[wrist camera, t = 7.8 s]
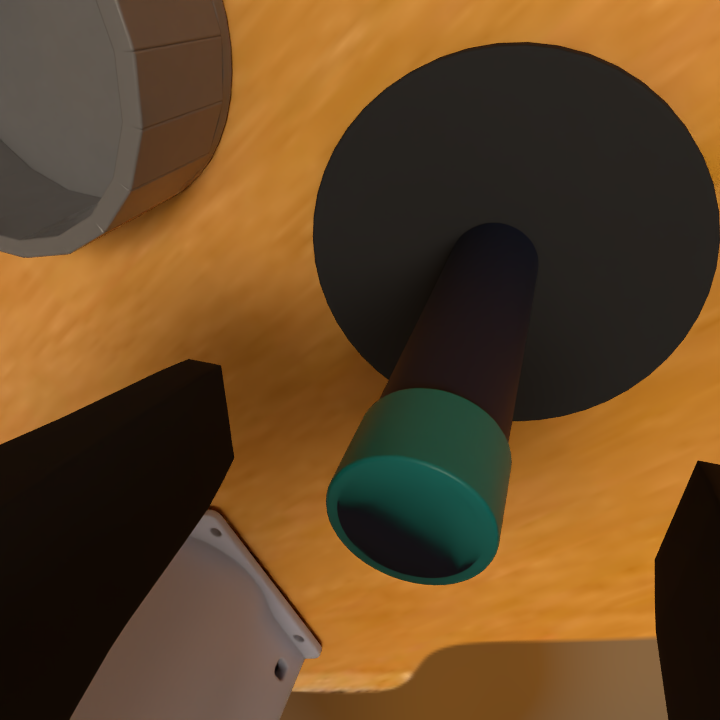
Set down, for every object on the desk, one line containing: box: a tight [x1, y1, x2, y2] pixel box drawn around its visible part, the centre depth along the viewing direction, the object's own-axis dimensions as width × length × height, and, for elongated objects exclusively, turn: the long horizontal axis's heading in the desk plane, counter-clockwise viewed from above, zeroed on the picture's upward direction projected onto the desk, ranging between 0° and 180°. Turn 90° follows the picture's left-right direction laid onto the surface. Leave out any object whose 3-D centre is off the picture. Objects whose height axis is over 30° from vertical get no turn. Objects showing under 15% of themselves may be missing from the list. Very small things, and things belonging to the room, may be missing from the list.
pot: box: [0, 0, 232, 258], centre depth 14 cm, size 9×9×4 cm
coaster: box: [313, 42, 720, 421], centre depth 15 cm, size 10×10×1 cm
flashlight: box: [326, 223, 539, 585], centre depth 12 cm, size 2×2×9 cm
